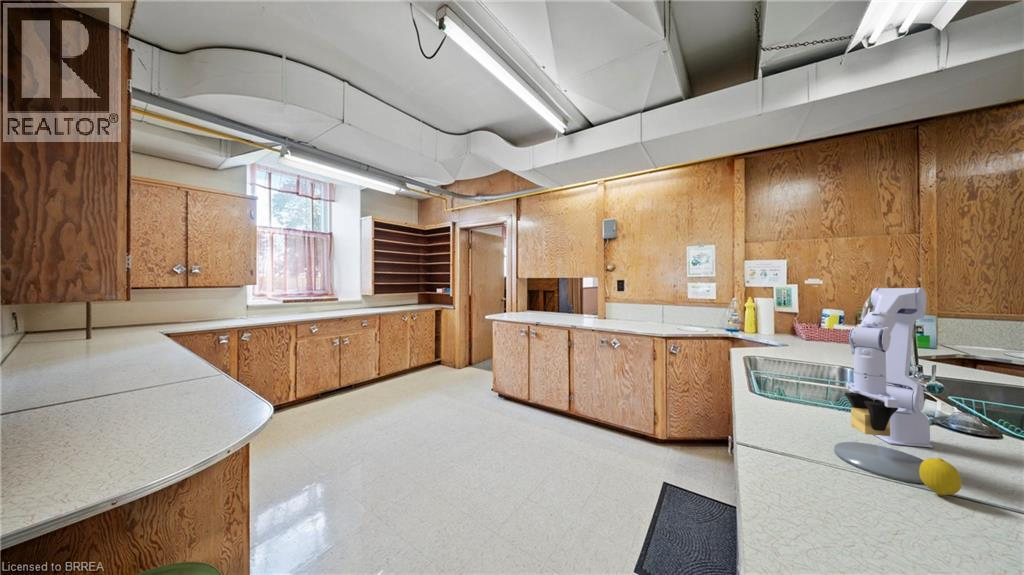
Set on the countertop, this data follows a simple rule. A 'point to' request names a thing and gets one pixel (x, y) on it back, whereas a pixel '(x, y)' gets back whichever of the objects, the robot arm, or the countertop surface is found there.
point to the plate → (880, 461)
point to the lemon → (940, 476)
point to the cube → (866, 422)
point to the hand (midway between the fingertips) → (870, 425)
